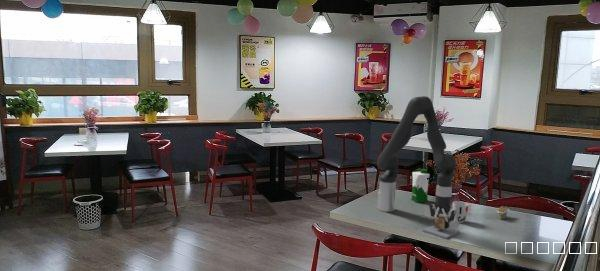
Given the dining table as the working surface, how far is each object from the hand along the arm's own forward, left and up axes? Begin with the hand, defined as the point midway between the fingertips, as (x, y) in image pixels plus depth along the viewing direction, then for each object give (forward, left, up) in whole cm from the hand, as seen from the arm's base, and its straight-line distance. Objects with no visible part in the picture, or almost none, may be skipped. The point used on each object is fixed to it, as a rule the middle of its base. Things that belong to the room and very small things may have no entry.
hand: (441, 226), depth 219 cm
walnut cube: (0, 0, 0) cm, 0 cm away
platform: (+11, +46, -4) cm, 48 cm away
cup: (-2, +22, -3) cm, 23 cm away
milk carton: (-37, +38, -3) cm, 53 cm away
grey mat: (0, 0, -3) cm, 3 cm away
